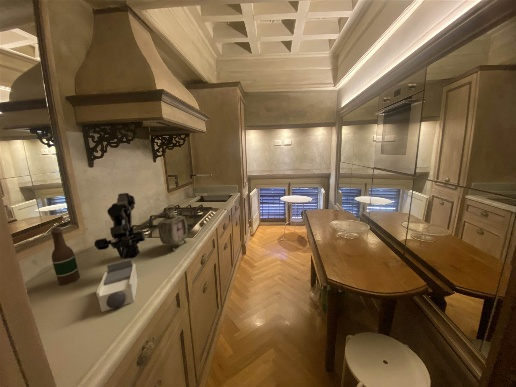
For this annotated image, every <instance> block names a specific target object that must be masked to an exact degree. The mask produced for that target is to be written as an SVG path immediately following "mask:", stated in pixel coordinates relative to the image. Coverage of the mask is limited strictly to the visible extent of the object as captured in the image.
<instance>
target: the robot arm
mask: <svg viewBox="0 0 516 387" xmlns="http://www.w3.org/2000/svg"><path fill="white" fill-rule="evenodd" d="M135 205H136V199H135V196H134V195H131V194H130V193H129V192H123V193H119V194H117V198H116V202H115V203H112V205H111V206H110V207H109V208H108V209H107V211H106V212H107V214H108V216H109V218H110V220H111V221H112V224H113V226H112V227H110V228H109V230H110V236H111V238H110V239H107V238H106V237H104V238H97V239H95V241H94V244H93V246H94V247H95V248H96V249H97V250H98V251H102V250H107V249H108V248H109V247H110V246H111V247H112V248H113V250H114V249H116V251H117V254H118V256H119V257H120V258H119V259H132V258H135V257H137V255H138V254H140V251H141V250H140V249H139V243H140V242H145V241H146V237H145V233H144V231H142V230H141V231H135V229H134V228H133V224H132V223H133V221H132V219H133V218H132V211H133V210H134V209H135Z"/></svg>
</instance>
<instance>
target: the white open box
mask: <svg viewBox="0 0 516 387" xmlns="http://www.w3.org/2000/svg"><path fill="white" fill-rule="evenodd" d="M132 265H133V267H132V272H131V276H130V278H128V279H125V280H121V281H117V282H113V283H109V284H106V285H105V280H106V277H107V275H108V269H107V270H105V272H104V274H103V277H102V280H101V282H100V283H99V286H98V288H97V291H96V293H95V294H96V297H97V299H98V302H99V306H100V310H101V312H106V311H110V310H113V309H115V310H116V309H119V308H121V307H122V306H125V305H130V304H133V303H135V300H136V299H135V298H136V294H137V293H136V292H137V285H138V275H137V269H136V268H137V266H136V263H132Z"/></svg>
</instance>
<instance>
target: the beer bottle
mask: <svg viewBox="0 0 516 387" xmlns="http://www.w3.org/2000/svg"><path fill="white" fill-rule="evenodd" d="M50 234H51V236H52V241H53V244H54V246H53V247H54V249H53V251H52V254H51V262H52V265H53V269H54V272H55V276H56V279H57V283H58V285H59V286H66V285H67V286H68V285H70V284H72V283H75V282H77V281H78V280H79V279H80V278H81V277H80V271H79V267H78V263H77V260H76V256H75V252H74V251H73V249H72V247H71V246H69V245H67V243H66V241H65V238H64V236H63V230H62V229H61V228H56V229H54V230H50Z"/></svg>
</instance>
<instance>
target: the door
mask: <svg viewBox="0 0 516 387" xmlns="http://www.w3.org/2000/svg"><path fill="white" fill-rule="evenodd" d="M106 267H107V270H108V275H107V277H106V280H105V285H106V284H109V283H113V282H117V281H121V280H125V279H128V278H130V276H131V272H132V267H133V260H132V258H127V259H125V260H119V261H117V262H116V261H115V262H111V263H108V264H107V265H106Z"/></svg>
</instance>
